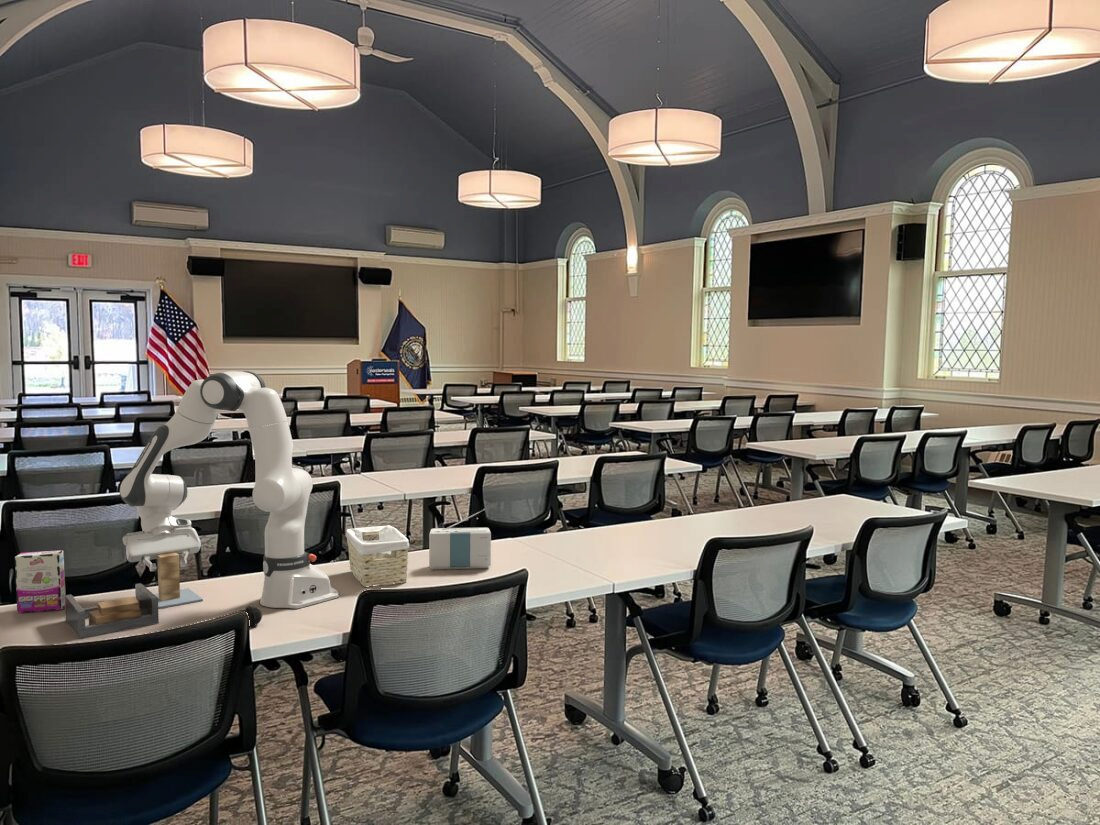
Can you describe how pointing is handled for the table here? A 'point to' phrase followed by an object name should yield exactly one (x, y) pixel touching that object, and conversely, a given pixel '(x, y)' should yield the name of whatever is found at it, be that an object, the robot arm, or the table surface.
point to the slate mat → (180, 599)
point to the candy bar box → (40, 581)
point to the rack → (79, 614)
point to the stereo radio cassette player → (459, 547)
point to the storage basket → (378, 555)
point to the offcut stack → (115, 611)
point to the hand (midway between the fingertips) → (169, 567)
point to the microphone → (253, 615)
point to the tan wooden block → (168, 576)
